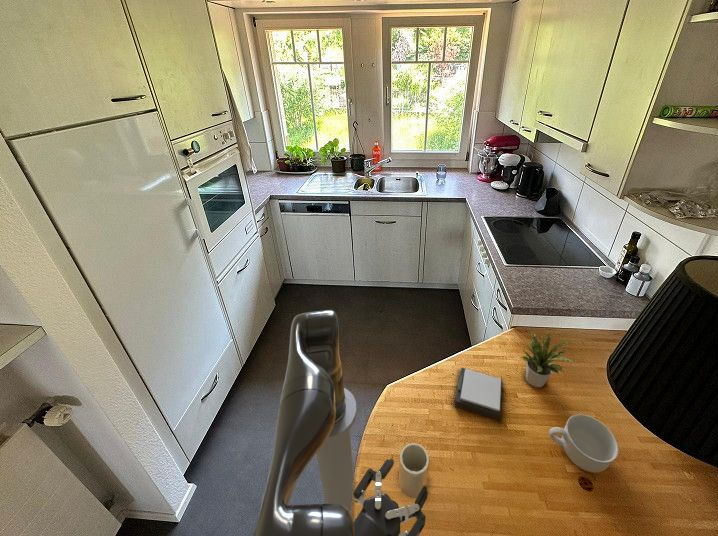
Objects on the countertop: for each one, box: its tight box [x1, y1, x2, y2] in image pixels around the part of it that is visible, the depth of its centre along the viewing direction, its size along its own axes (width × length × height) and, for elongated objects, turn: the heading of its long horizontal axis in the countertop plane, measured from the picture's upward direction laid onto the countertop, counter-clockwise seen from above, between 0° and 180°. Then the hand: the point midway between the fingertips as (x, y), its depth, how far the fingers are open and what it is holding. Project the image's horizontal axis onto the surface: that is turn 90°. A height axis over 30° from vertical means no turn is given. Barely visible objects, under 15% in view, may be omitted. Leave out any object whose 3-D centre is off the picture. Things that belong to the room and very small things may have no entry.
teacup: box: [548, 413, 619, 473], centre depth 78 cm, size 14×11×8 cm
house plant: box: [519, 329, 576, 388], centre depth 94 cm, size 14×14×16 cm
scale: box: [454, 367, 503, 421], centre depth 93 cm, size 12×12×3 cm
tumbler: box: [398, 442, 430, 499], centre depth 72 cm, size 6×6×10 cm
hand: (408, 474), depth 69 cm, fingers open, 8 cm apart
